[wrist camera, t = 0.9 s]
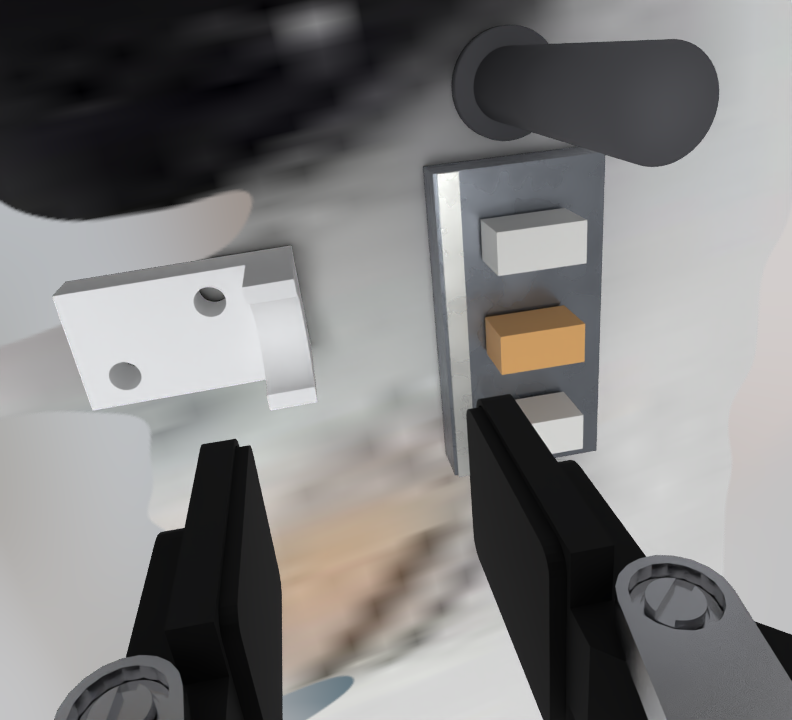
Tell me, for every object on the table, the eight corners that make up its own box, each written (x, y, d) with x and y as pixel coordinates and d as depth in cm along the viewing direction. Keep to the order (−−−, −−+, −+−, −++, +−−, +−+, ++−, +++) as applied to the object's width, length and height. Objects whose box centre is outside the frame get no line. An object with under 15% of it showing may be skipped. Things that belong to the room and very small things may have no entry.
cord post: (448, 31, 37) (578, 14, 21) (553, 20, 38) (757, -5, 22) (455, 144, 40) (575, 206, 24) (553, 132, 41) (736, 184, 24)
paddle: (480, 219, 39) (496, 232, 36) (564, 207, 39) (587, 220, 36) (482, 260, 40) (498, 276, 37) (564, 248, 40) (586, 263, 37)
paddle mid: (484, 317, 41) (500, 337, 38) (564, 305, 42) (585, 323, 39) (486, 353, 42) (501, 375, 39) (564, 341, 43) (584, 361, 40)
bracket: (291, 241, 41) (293, 278, 34) (311, 348, 44) (317, 401, 37) (70, 276, 40) (27, 323, 33) (106, 384, 43) (74, 446, 36)
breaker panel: (423, 166, 40) (433, 174, 37) (585, 145, 41) (607, 152, 38) (445, 453, 49) (456, 477, 46) (580, 430, 50) (598, 452, 47)
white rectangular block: (489, 403, 44) (503, 428, 41) (563, 391, 44) (583, 415, 42) (490, 435, 45) (505, 462, 42) (563, 423, 45) (582, 448, 43)
